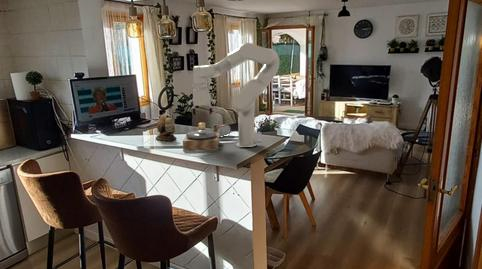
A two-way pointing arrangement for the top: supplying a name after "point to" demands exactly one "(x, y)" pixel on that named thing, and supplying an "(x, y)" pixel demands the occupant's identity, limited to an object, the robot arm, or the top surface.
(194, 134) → the pot lid
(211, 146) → the wheel block
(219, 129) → the tin
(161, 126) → the owl figurine
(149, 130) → the top surface
